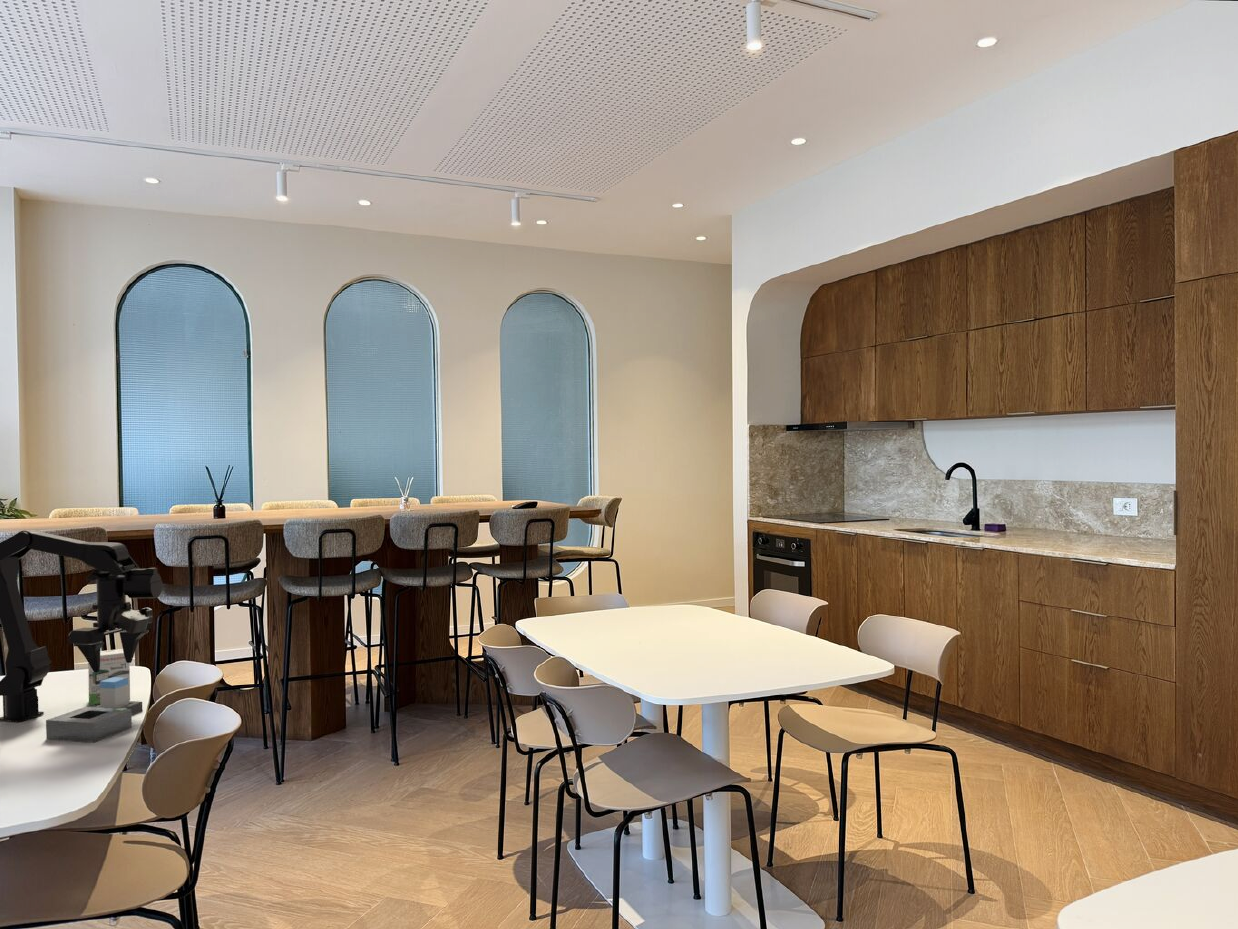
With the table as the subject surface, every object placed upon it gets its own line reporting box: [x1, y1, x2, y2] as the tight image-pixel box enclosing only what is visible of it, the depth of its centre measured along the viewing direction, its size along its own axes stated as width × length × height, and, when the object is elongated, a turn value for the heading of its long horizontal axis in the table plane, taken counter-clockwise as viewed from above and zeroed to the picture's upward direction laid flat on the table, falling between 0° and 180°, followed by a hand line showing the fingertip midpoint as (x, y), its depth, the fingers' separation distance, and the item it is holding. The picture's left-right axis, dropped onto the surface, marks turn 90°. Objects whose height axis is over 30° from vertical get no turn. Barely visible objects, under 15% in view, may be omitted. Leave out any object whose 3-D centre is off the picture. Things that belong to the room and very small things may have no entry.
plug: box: [99, 677, 130, 709], centre depth 203 cm, size 4×4×8 cm
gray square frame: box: [95, 700, 143, 715], centre depth 203 cm, size 8×8×2 cm
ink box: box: [87, 648, 131, 706], centre depth 215 cm, size 9×5×12 cm, turn 123°
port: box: [45, 706, 133, 744], centre depth 189 cm, size 12×10×4 cm
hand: (113, 667), depth 203 cm, fingers open, 9 cm apart
